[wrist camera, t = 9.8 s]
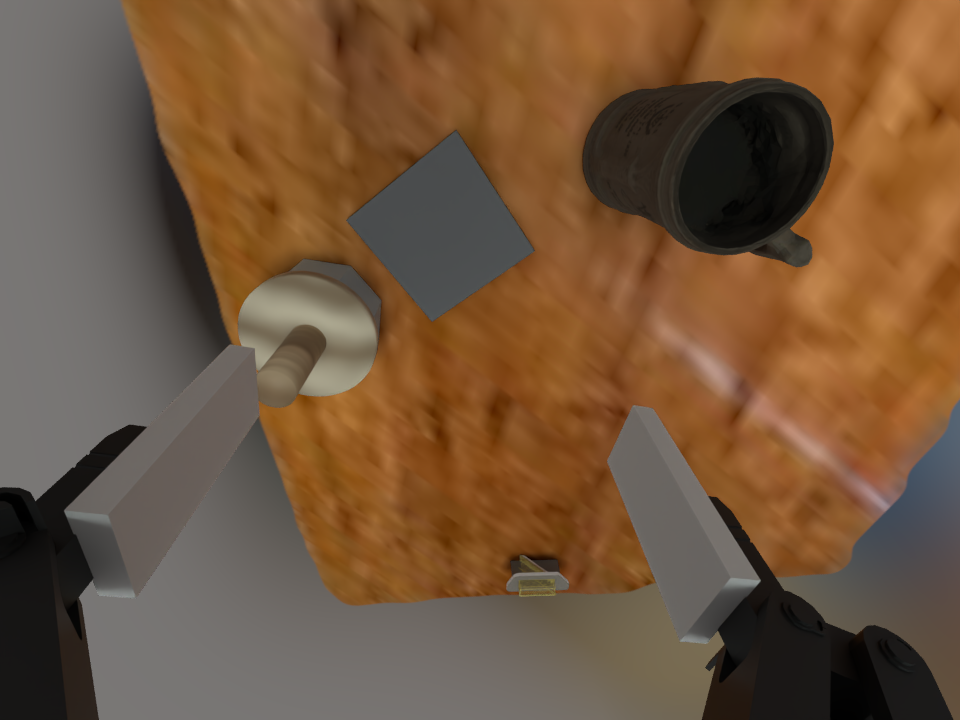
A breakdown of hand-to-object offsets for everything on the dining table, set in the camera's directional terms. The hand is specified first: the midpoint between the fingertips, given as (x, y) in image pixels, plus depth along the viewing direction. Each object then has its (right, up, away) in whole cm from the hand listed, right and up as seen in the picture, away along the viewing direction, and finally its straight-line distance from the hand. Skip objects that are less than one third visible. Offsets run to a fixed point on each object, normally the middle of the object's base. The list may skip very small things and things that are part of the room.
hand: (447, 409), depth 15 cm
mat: (-3, +15, +30) cm, 34 cm away
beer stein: (+19, +21, +28) cm, 40 cm away
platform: (+10, -31, +58) cm, 66 cm away
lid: (-16, +4, +30) cm, 34 cm away
